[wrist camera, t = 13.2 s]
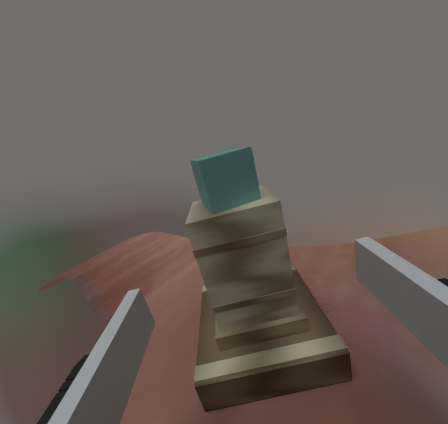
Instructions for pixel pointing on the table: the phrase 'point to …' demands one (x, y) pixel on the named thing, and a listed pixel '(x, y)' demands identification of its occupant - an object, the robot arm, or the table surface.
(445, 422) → the table surface
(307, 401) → the table surface
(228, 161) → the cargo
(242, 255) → the wooden block tower
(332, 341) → the dock
